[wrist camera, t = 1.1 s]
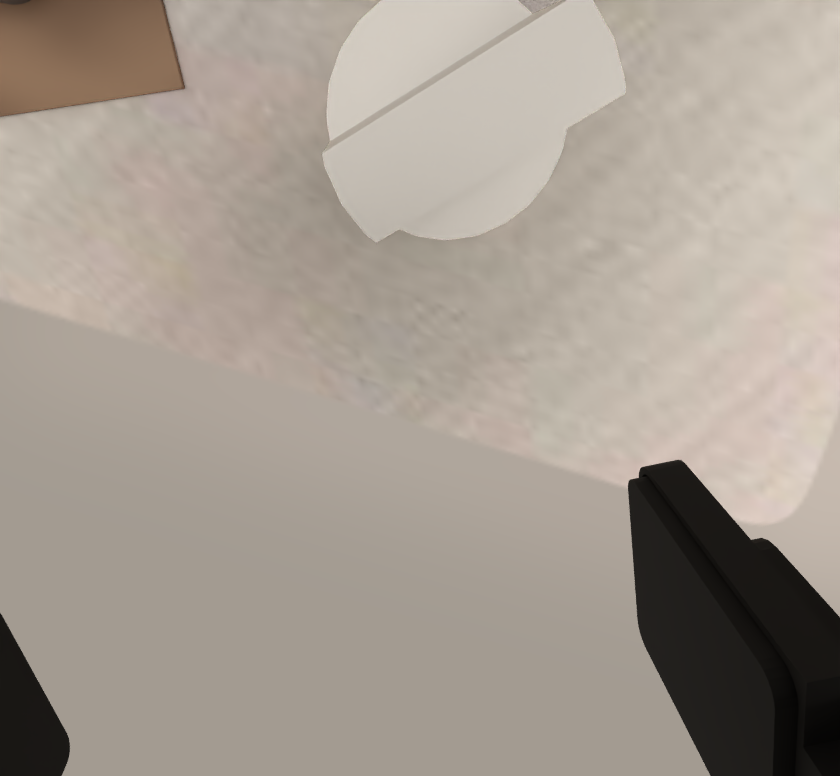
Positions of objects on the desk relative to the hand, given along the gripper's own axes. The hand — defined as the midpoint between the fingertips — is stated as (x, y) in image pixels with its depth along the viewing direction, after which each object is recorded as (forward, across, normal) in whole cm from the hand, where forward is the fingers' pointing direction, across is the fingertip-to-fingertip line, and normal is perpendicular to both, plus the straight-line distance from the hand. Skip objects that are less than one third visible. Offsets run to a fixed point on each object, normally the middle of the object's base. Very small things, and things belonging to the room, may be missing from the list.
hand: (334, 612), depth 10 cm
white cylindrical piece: (+25, -5, -5) cm, 26 cm away
